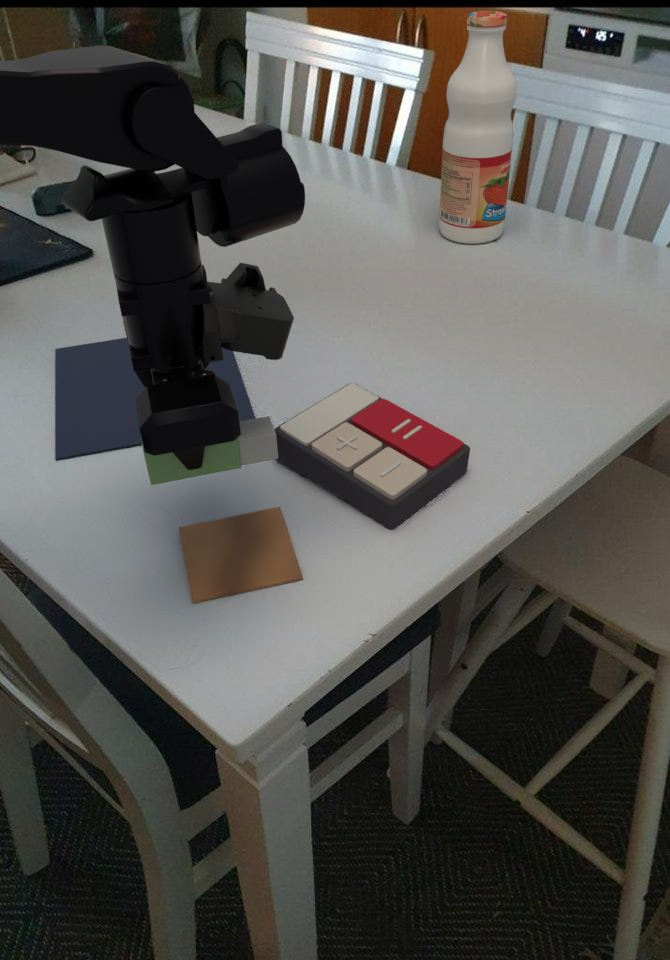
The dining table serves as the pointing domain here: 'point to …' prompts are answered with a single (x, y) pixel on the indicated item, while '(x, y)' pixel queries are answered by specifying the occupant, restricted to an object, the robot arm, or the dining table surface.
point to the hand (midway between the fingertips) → (191, 454)
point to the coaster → (238, 554)
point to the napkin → (112, 397)
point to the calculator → (372, 453)
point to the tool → (220, 454)
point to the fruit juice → (478, 136)
